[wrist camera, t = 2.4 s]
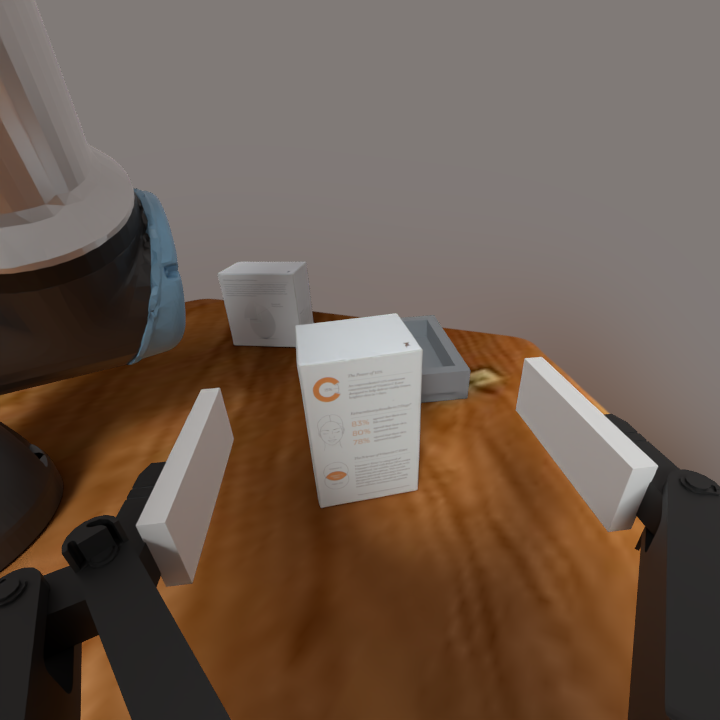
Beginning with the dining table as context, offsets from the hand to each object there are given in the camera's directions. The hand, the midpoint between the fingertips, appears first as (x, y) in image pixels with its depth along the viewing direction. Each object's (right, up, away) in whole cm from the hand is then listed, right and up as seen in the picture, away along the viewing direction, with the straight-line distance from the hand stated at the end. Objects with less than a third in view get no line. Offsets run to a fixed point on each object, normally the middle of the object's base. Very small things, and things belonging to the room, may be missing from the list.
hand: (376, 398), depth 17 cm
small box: (0, -8, +16) cm, 18 cm away
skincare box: (-13, +5, +40) cm, 42 cm away
